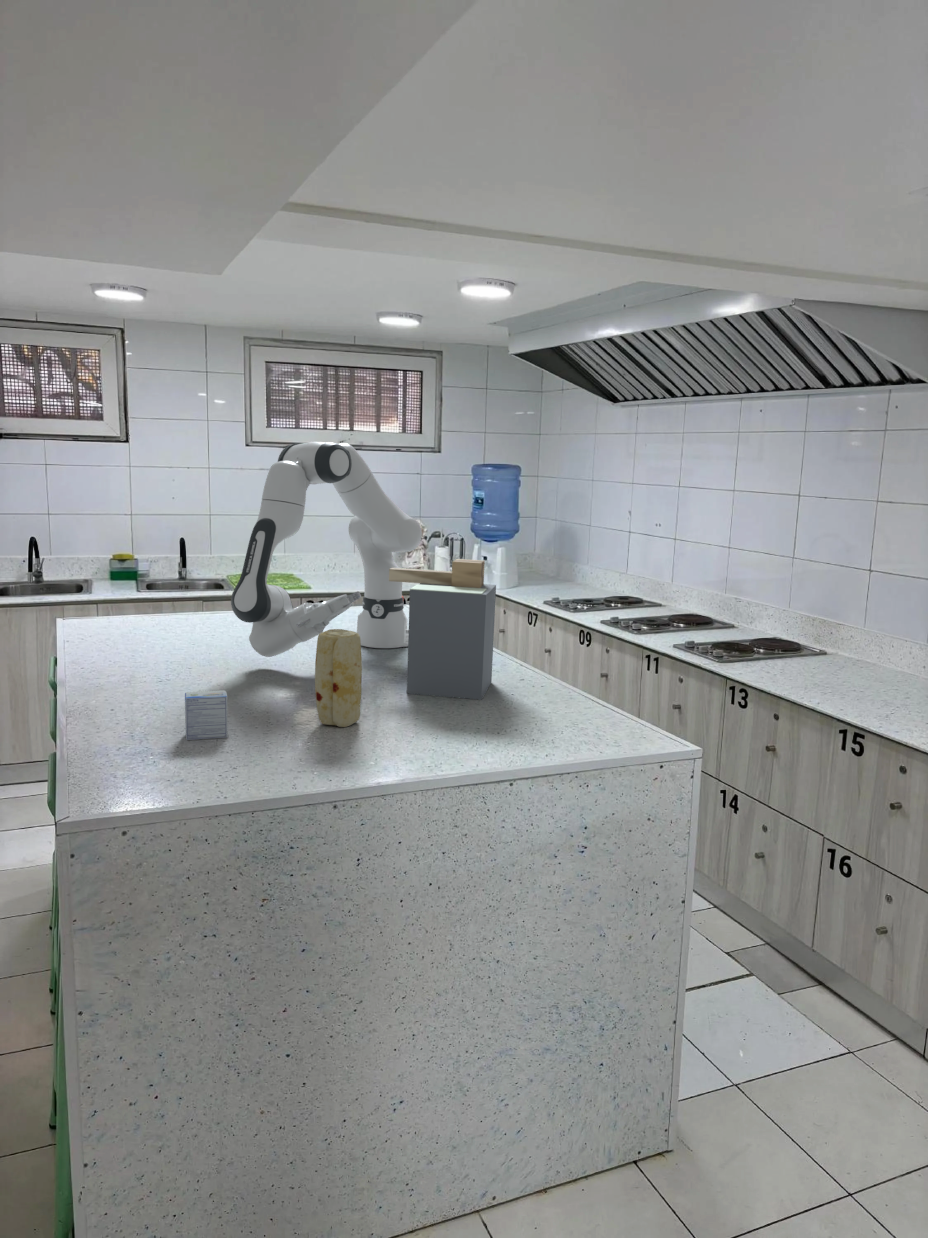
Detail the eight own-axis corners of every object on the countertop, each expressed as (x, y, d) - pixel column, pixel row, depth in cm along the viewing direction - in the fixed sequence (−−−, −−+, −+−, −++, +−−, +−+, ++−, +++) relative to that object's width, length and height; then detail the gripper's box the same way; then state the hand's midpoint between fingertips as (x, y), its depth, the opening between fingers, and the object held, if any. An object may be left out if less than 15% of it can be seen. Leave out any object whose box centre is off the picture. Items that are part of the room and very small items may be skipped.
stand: (422, 676, 226) (425, 579, 222) (491, 682, 223) (496, 584, 219) (406, 693, 210) (409, 588, 205) (481, 699, 207) (486, 593, 202)
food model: (356, 718, 189) (358, 626, 185) (365, 727, 183) (367, 632, 179) (311, 721, 185) (312, 627, 181) (318, 730, 179) (319, 634, 175)
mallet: (393, 578, 222) (394, 555, 221) (483, 584, 218) (484, 560, 217) (387, 581, 216) (388, 557, 215) (479, 587, 212) (481, 563, 211)
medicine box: (226, 731, 176) (226, 689, 174) (228, 738, 172) (227, 695, 170) (185, 734, 173) (184, 691, 172) (185, 741, 169) (185, 697, 168)
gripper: (287, 616, 214) (335, 591, 211) (315, 603, 234) (359, 580, 231) (299, 639, 215) (347, 614, 211) (326, 624, 235) (370, 602, 231)
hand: (354, 596), depth 221 cm, fingers open, 8 cm apart
